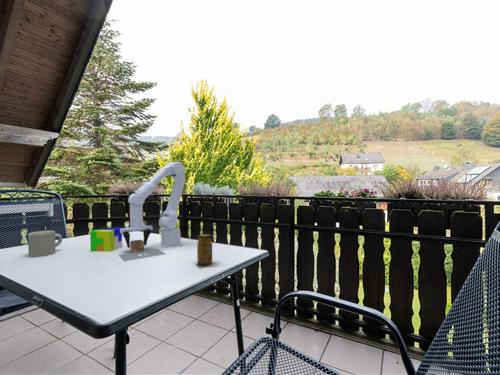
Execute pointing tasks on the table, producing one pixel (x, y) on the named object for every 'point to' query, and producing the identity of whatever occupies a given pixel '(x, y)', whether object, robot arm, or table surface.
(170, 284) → the table surface
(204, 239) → the condiment
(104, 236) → the puzzle toy
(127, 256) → the gray tile
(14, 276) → the table surface
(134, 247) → the walnut block
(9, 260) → the table surface
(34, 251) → the coffee mug
